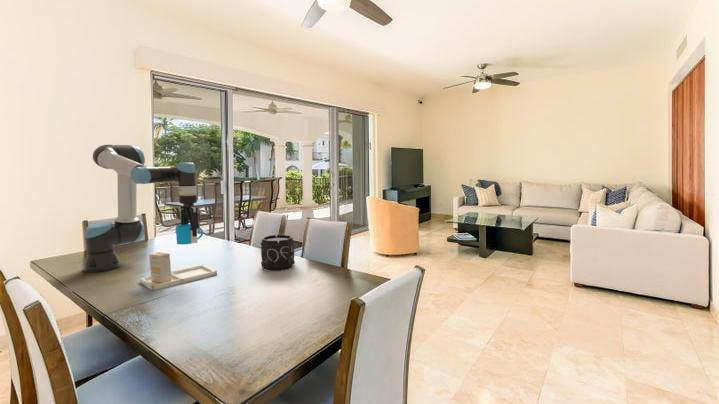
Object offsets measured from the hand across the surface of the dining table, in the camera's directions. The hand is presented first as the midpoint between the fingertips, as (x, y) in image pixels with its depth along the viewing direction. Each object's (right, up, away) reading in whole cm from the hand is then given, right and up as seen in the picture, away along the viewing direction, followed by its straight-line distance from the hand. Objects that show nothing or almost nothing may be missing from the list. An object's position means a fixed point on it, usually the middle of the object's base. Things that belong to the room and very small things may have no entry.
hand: (190, 241), depth 170 cm
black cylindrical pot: (+39, -15, +16) cm, 45 cm away
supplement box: (-10, -18, -8) cm, 22 cm away
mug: (0, 0, 0) cm, 0 cm away
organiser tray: (-4, -17, -2) cm, 18 cm away
